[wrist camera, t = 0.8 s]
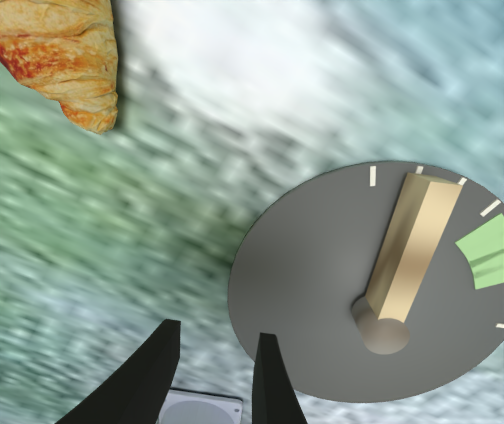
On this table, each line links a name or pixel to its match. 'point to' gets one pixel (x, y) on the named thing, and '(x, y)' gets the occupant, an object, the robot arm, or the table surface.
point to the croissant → (64, 55)
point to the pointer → (404, 261)
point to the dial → (357, 281)
